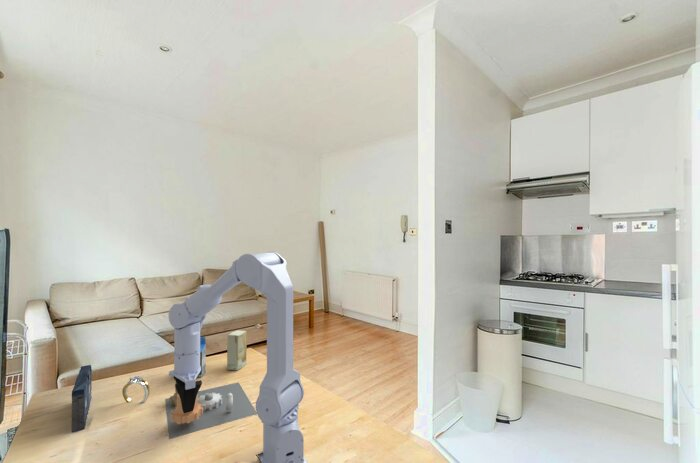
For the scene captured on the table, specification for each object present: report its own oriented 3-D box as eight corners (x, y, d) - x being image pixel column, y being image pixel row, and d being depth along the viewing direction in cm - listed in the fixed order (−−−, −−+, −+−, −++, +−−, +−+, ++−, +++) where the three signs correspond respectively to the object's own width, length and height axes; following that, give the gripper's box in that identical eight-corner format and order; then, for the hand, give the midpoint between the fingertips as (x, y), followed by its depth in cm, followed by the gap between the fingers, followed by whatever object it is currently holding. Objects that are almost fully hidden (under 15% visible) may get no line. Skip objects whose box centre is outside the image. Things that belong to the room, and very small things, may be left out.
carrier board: (257, 418, 85) (257, 391, 85) (169, 444, 74) (169, 413, 74) (238, 386, 103) (238, 363, 103) (165, 403, 92) (165, 378, 92)
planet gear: (204, 418, 79) (204, 395, 79) (172, 427, 75) (172, 403, 76) (200, 405, 85) (200, 384, 85) (170, 413, 81) (170, 391, 82)
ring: (119, 408, 90) (120, 378, 90) (129, 402, 93) (129, 373, 93) (142, 410, 89) (143, 380, 89) (151, 403, 92) (151, 375, 92)
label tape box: (174, 378, 108) (174, 340, 108) (179, 373, 112) (179, 337, 112) (201, 377, 109) (201, 340, 109) (206, 372, 113) (206, 336, 113)
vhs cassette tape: (80, 400, 94) (80, 365, 94) (93, 398, 95) (94, 363, 95) (68, 434, 78) (69, 392, 78) (84, 430, 80) (84, 389, 80)
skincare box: (237, 371, 114) (237, 335, 114) (226, 370, 115) (226, 335, 115) (247, 363, 120) (247, 330, 120) (236, 362, 121) (236, 329, 121)
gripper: (167, 345, 85) (167, 398, 84) (170, 364, 72) (170, 426, 72) (197, 340, 88) (197, 391, 88) (205, 358, 76) (205, 417, 76)
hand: (187, 406), depth 80 cm, fingers closed on planet gear, 4 cm apart
